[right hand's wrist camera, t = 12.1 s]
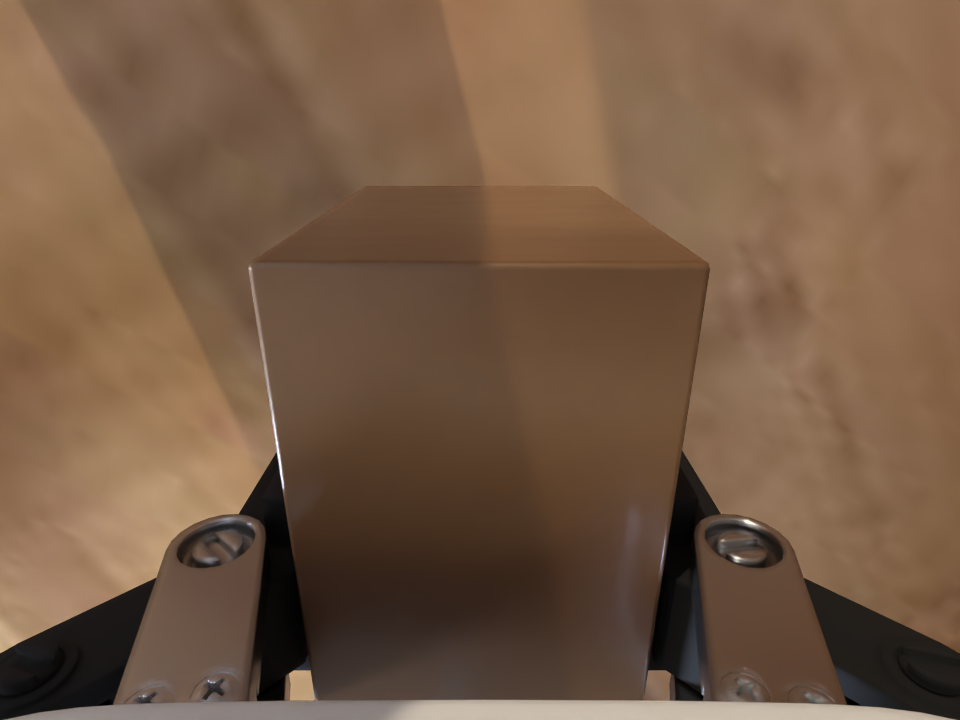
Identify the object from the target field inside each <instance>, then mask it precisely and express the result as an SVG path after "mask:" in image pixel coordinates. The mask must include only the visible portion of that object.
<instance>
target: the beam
mask: <svg viewBox="0 0 960 720" xmlns="http://www.w3.org/2000/svg"><path fill="white" fill-rule="evenodd" d="M248 271H249V277H250V283H251V290H252V296H253V303H254V309H255V316H256V322H257V328H258V335H259V341H260V348H261V354H262V361H263V367H264V373H265V380H266V386H267V393H268V399H269V406H270V412H271V418H272V425H273V431H274V438H275V444H276V451H277V457H278V463H279V470H280V476H281V483H282V489H283V496H284V502H285V508H286V515H287V521H288V528H289V534H290V540H291V547H292V553H293V560H294V566H295V573H296V579H297V585H298V592H299V598H300V605H301V611H302V618H303V624H304V630H305V637H306V643H307V650H308V656H309V663H310V669H311V675H312V682H313V688H314V695H315V701H334V700H626V701H643V699H644V693H645V686H646V680H647V673H648V667H649V660H650V654H651V648H652V641H653V635H654V628H655V622H656V615H657V609H658V602H659V596H660V589H661V583H662V576H663V570H664V563H665V557H666V550H667V544H668V537H669V531H670V524H671V518H672V511H673V505H674V498H675V492H676V485H677V479H678V472H679V466H680V459H681V453H682V446H683V440H684V434H685V427H686V421H687V414H688V408H689V401H690V395H691V388H692V382H693V375H694V369H695V362H696V356H697V349H698V343H699V336H700V330H701V323H702V317H703V310H704V304H705V297H706V291H707V284H708V278H709V271H710V268H709V264H708V263H707V262H706V261H704V260H703V259H701V258H700V257H699V256H697V255H696V254H694V253H693V252H691V251H690V250H688V249H687V248H685V247H684V246H682V245H681V244H679V243H678V242H677V241H675V240H674V239H672V238H671V237H669V236H668V235H666V234H665V233H663V232H662V231H660V230H659V229H657V228H656V227H655V226H653V225H652V224H650V223H649V222H647V221H646V220H644V219H643V218H641V217H640V216H638V215H637V214H635V213H634V212H633V211H631V210H630V209H628V208H627V207H625V206H624V205H622V204H621V203H619V202H618V201H616V200H615V199H613V198H612V197H610V196H609V195H608V194H606V193H605V192H603V191H602V190H600V189H599V188H597V187H595V186H366V187H364V188H363V189H361V190H360V191H358V192H356V193H355V194H353V195H352V196H350V197H349V198H347V199H346V200H344V201H343V202H341V203H340V204H338V205H337V206H335V207H334V208H332V209H331V210H329V211H328V212H326V213H325V214H323V215H322V216H320V217H318V218H317V219H315V220H314V221H312V222H311V223H309V224H308V225H306V226H305V227H303V228H302V229H300V230H299V231H297V232H296V233H294V234H293V235H291V236H290V237H288V238H287V239H285V240H284V241H282V242H280V243H279V244H277V245H276V246H274V247H273V248H271V249H270V250H268V251H267V252H265V253H264V254H262V255H261V256H259V257H258V258H256V259H255V260H253V261H252V262H250V264H249V267H248Z"/></svg>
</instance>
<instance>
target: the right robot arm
mask: <svg viewBox="0 0 960 720" xmlns="http://www.w3.org/2000/svg"><path fill="white" fill-rule="evenodd" d="M293 670H311V669H310V663H309V656H308V650H307V643H306V637H305V630H304V624H303V618H302V611H301V605H300V598H299V592H298V585H297V579H296V573H295V566H294V560H293V553H292V547H291V540H290V534H289V528H288V521H287V515H286V508H285V502H284V496H283V489H282V483H281V476H280V470H279V463H278V457H277V453H276V454H275V456H274V457H273V459H272V461H271V462H270V464H269V466H268V467H267V469H266V470H265V472H264V474H263V475H262V477H261V479H260V480H259V482H258V484H257V485H256V487H255V488H254V490H253V492H252V493H251V495H250V497H249V498H248V500H247V501H246V503H245V505H244V506H243V508H242V510H241V511H240V513H239V514H230V515H221V516H216V517H212V518H208V519H205V520H203V521H200V522H198V523H195V524H193V525H192V526H190V527H188V528H187V529H185V530H183V531H182V532H181V533H179V534H178V535H177V536H176V537H175V538H174V539H173V540H172V541H171V543H170V544H169V546H168V548H167V550H166V552H165V555H164V558H163V560H162V563H161V566H160V569H159V572H158V575H157V578H155V579H153V580H151V581H149V582H146V583H144V584H142V585H140V586H138V587H136V588H134V589H132V590H130V591H127V592H125V593H123V594H121V595H119V596H117V597H115V598H113V599H111V600H109V601H106V602H104V603H102V604H100V605H98V606H96V607H94V608H92V609H90V610H87V611H85V612H83V613H81V614H79V615H77V616H75V617H73V618H71V619H69V620H66V621H64V622H62V623H60V624H58V625H56V626H54V627H52V628H50V629H47V630H45V631H43V632H41V633H39V634H37V635H35V636H33V637H31V638H29V639H26V640H24V641H22V642H20V643H18V644H16V645H15V646H13V647H11V648H9V649H8V650H6V651H4V652H2V653H0V720H960V654H959V653H957V652H956V651H954V650H952V649H950V648H949V647H947V646H945V645H943V644H942V643H940V642H937V641H935V640H933V639H931V638H929V637H927V636H925V635H923V634H921V633H919V632H916V631H914V630H912V629H910V628H908V627H906V626H904V625H902V624H900V623H897V622H895V621H893V620H891V619H889V618H887V617H885V616H883V615H881V614H879V613H876V612H874V611H872V610H870V609H868V608H866V607H864V606H862V605H860V604H857V603H855V602H853V601H851V600H849V599H847V598H845V597H843V596H841V595H839V594H836V593H834V592H832V591H830V590H828V589H826V588H824V587H822V586H820V585H817V584H815V583H813V582H811V581H809V580H807V579H805V578H803V575H802V572H801V569H800V566H799V563H798V560H797V558H796V555H795V552H794V550H793V548H792V546H791V544H790V543H789V541H788V540H787V539H786V538H785V537H784V536H783V535H782V534H781V533H779V532H778V531H777V530H775V529H773V528H772V527H770V526H768V525H767V524H765V523H762V522H760V521H757V520H755V519H752V518H748V517H744V516H739V515H730V514H721V513H720V512H719V510H718V509H717V507H716V505H715V504H714V502H713V500H712V499H711V497H710V495H709V494H708V492H707V491H706V489H705V487H704V486H703V484H702V482H701V481H700V479H699V478H698V476H697V474H696V473H695V471H694V469H693V468H692V466H691V464H690V463H689V461H688V460H687V458H686V456H685V455H684V453H683V451H682V453H681V459H680V466H679V472H678V479H677V485H676V492H675V498H674V505H673V511H672V518H671V524H670V531H669V537H668V544H667V550H666V557H665V563H664V570H663V576H662V583H661V589H660V596H659V602H658V609H657V615H656V622H655V628H654V635H653V641H652V648H651V654H650V660H649V667H648V670H666V671H668V672H669V673H671V678H670V701H626V700H334V701H290V678H289V673H290V672H292V671H293Z"/></svg>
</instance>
